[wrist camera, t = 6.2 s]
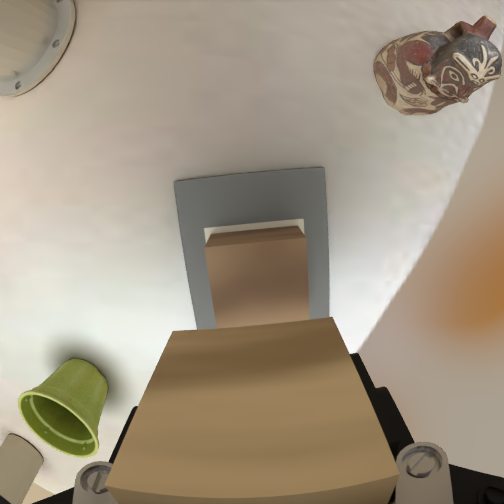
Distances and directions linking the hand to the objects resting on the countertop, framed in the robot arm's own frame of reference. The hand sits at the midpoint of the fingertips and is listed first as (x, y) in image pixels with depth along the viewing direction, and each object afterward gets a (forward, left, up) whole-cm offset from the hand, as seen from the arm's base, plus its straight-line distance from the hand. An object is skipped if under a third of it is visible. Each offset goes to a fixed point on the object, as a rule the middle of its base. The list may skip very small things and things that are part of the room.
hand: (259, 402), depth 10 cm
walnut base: (+2, 0, -17) cm, 17 cm away
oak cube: (0, 0, -1) cm, 1 cm away
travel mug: (+33, -44, -19) cm, 58 cm away
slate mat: (+2, 0, -18) cm, 18 cm away
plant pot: (+14, -21, -19) cm, 31 cm away
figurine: (-14, +15, -19) cm, 28 cm away
